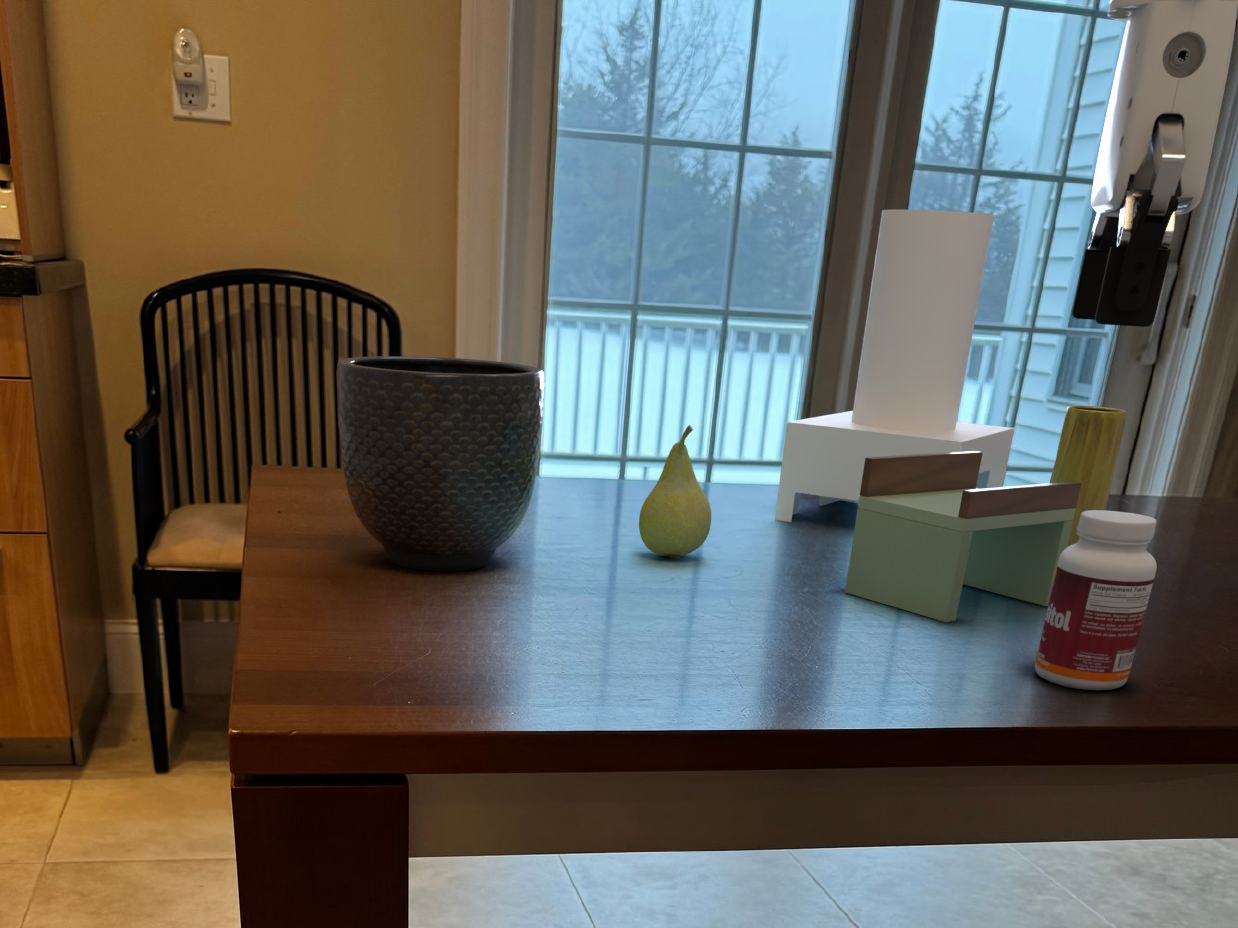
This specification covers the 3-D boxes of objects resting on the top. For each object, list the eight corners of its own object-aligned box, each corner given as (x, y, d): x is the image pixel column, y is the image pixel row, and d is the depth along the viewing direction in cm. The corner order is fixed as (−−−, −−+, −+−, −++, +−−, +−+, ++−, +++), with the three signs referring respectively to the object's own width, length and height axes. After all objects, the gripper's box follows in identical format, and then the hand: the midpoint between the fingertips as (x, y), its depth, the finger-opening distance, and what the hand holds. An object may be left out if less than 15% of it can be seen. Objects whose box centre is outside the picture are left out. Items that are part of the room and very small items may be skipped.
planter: (328, 578, 106) (322, 367, 99) (353, 537, 121) (349, 352, 114) (537, 587, 107) (546, 378, 99) (535, 545, 122) (543, 362, 115)
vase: (1025, 568, 123) (1060, 408, 117) (1030, 556, 128) (1063, 403, 122) (1093, 576, 121) (1132, 414, 115) (1095, 564, 126) (1132, 408, 120)
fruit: (700, 550, 124) (714, 416, 118) (715, 567, 117) (730, 427, 111) (631, 548, 123) (641, 413, 118) (642, 565, 116) (654, 423, 111)
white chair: (774, 519, 141) (813, 205, 127) (839, 499, 155) (881, 214, 141) (943, 545, 132) (1005, 210, 118) (995, 521, 146) (1056, 220, 132)
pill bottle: (1025, 663, 93) (1060, 504, 88) (1114, 670, 92) (1155, 511, 87) (1041, 688, 87) (1080, 520, 82) (1136, 696, 87) (1181, 527, 82)
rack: (1054, 605, 110) (1085, 469, 105) (946, 622, 103) (973, 478, 98) (951, 577, 118) (975, 450, 113) (844, 592, 110) (865, 457, 105)
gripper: (1303, -50, 64) (1205, 332, 71) (1220, 11, 79) (1147, 321, 86) (1142, -51, 65) (1064, 324, 73) (1091, 9, 80) (1030, 314, 88)
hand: (1109, 322), depth 80 cm, fingers open, 9 cm apart
